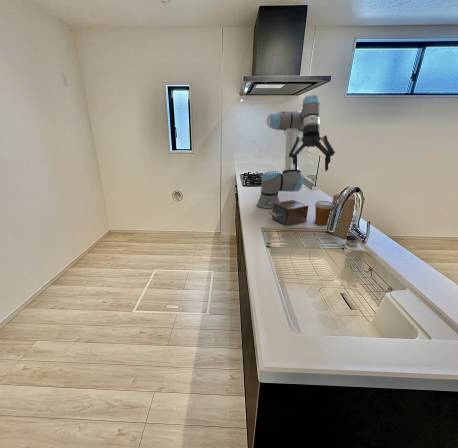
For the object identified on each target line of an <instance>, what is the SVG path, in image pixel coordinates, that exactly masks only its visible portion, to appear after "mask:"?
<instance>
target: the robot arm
mask: <svg viewBox="0 0 458 448" xmlns="http://www.w3.org/2000/svg"><path fill="white" fill-rule="evenodd" d="M301 106H302V109H301V111H299V110H289V111H287V110H286V111H285V110H279V111H274V112H271V113H270V114H269V115H268V116H267V118H266V125H267V126H268V128H270V129H272V130H277V131H283V134H284V135H285V155H284V169H283V171H282V173H281V172H280V171H279V170H272V171H270V170H269V171H266V172H264V173H262V175H261V179H260V180H261V184H260V185H261V186H260V195H259V198H258V200H257V207H259V208H261V209H268V210H272V209H273V205H274V203H278V202H280V198H279V192H288V193H289V192H292V193H293V192H294V193H295V192H296V193H297V192H299V191H300V190H301V189H302V186H303V183H304V174H303V173H301V172H302V171H301V170H300V169H299V155H300V153H301V152H303V150H304V149H305V148H314V147H316V148H317V149H318V150H319V151H320V152H321V153H322V154H323V155H325V157H324V171H325V172H327V171H328V170H329V164H330V163H331V157H333V156H334V155H335V153H336V152H335V150H334V148H333V147H332V145H331V143H330V141H329V140H328V136H327V135H326V134H325V135H324V136H321V135H320V98H319V96H318V95H315V94H310V95H307V96H305V97H304V98H303V100H302V105H301ZM301 133H302V137H300V134H301ZM301 142H302V144H301V145H300V143H301ZM321 142H322V143H323V144H324V145H323V144H322V143H321Z"/></svg>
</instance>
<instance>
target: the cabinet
mask: <svg viewBox="0 0 458 448" xmlns="http://www.w3.org/2000/svg"><path fill="white" fill-rule="evenodd" d="M274 205H276V206H279V207H281V208H283V209H286V210H287V220H286V224H284V225H285V226H291V225H296V224H300V223H304V222H307V219H308V212H309V205H307V204H305V203H303V202H300V201H298V200H294V199H291V200H285V201H279V202H278V203H274Z"/></svg>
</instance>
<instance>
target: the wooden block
mask: <svg viewBox="0 0 458 448" xmlns="http://www.w3.org/2000/svg"><path fill="white" fill-rule="evenodd" d="M339 194H340V193H338V194H337V193H336V194H333V197H332V202H331V203H332V207H331V210H332V208H333V205H334V204H335V201H336V199H337V198H338V196H339ZM352 194H353V195H351V196H350V198H349V199H348V200H347V202H346V204H345V205H344V207H343V209H342V212H341V215H340V218H339V221H338V227H337V230H336V231H334V232H329V231H328V230H327V229H326V232H328V233H330V234H332V235H334V236H336V237H339V238H341V239H347V238H348V237H347V233H348V230H349V228H350V225H351V222H352V218H353V211H354V205H355V195H356V194H354V193H352ZM362 197H363V200H364V201H363V205H364V203H365V200H366V198H365V197H366V196H362Z"/></svg>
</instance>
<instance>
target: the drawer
mask: <svg viewBox="0 0 458 448" xmlns="http://www.w3.org/2000/svg"><path fill="white" fill-rule="evenodd" d="M267 214H269V215H270V216H271V218H272V220H274V221H277V222H278V223H280V224H283V225H285V224H286V220H287V210H286V209H283V208H281V207H279V206H276V205H273V209H271V210H268V211H267Z"/></svg>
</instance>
